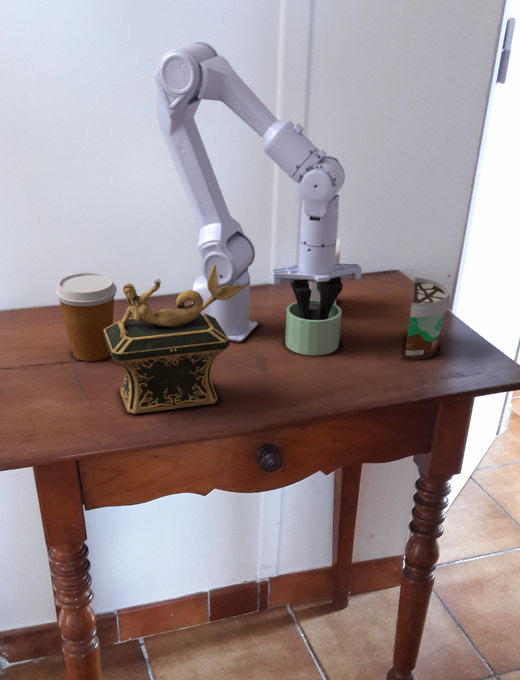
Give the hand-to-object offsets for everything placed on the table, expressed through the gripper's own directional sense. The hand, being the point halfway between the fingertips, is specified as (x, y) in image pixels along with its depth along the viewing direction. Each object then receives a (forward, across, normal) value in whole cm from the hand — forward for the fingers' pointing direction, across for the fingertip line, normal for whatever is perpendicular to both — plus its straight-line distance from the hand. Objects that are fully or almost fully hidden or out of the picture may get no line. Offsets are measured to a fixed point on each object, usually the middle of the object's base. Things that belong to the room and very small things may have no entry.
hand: (313, 322), depth 141 cm
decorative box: (+4, -25, -14) cm, 29 cm away
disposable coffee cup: (+4, -36, +3) cm, 37 cm away
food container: (+4, +18, -6) cm, 19 cm away
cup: (+4, 0, 0) cm, 4 cm away
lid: (+1, 0, 0) cm, 1 cm away
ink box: (+4, +6, +14) cm, 16 cm away
